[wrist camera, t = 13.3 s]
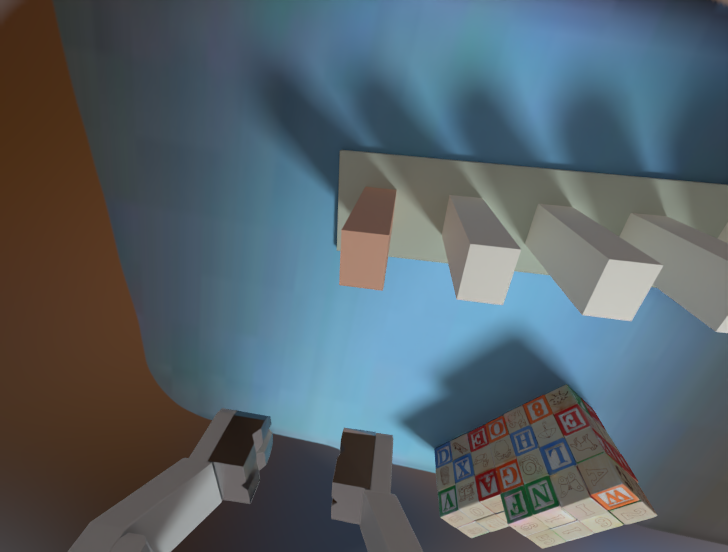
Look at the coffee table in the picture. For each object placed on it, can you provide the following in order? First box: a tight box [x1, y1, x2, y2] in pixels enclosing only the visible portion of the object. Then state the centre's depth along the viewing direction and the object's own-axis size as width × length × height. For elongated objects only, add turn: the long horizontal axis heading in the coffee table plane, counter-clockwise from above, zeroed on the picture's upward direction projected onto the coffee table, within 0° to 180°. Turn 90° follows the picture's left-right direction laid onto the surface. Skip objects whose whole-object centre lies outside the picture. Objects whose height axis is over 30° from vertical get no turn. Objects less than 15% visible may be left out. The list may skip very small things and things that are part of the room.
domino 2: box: [442, 195, 521, 305], centre depth 26 cm, size 3×4×12 cm
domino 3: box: [525, 204, 664, 321], centre depth 25 cm, size 3×4×12 cm
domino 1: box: [339, 187, 397, 290], centre depth 26 cm, size 3×4×12 cm
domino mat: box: [337, 150, 728, 288], centre depth 30 cm, size 40×10×1 cm, turn 86°
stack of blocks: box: [435, 384, 657, 548], centre depth 39 cm, size 21×6×12 cm, turn 137°
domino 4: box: [619, 213, 728, 333], centre depth 24 cm, size 3×4×12 cm
